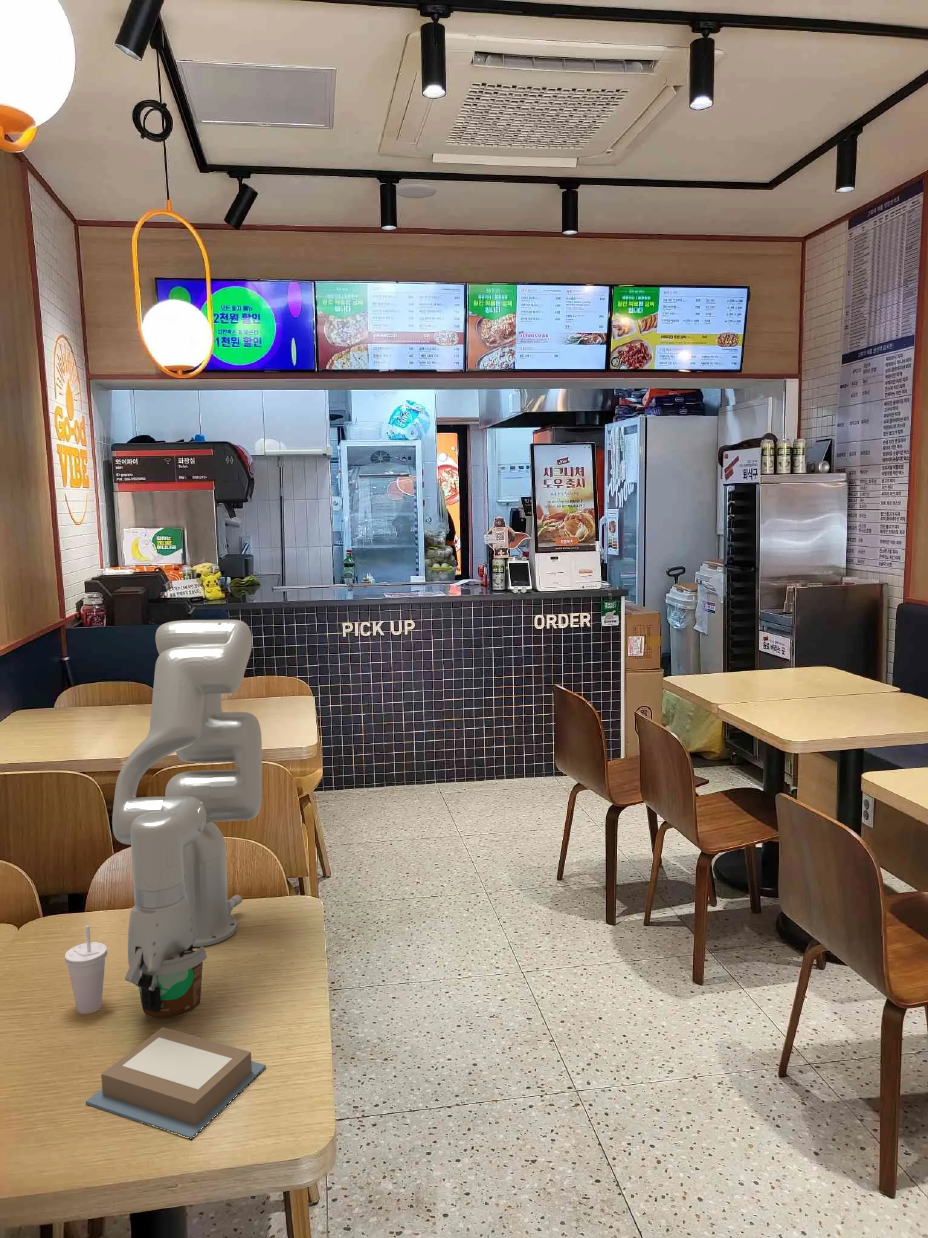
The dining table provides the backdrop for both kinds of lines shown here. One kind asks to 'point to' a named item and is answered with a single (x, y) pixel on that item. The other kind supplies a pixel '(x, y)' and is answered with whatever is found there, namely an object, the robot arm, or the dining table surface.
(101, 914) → the dining table surface
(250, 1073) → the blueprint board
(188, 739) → the robot arm
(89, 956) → the smoothie
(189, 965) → the food container
